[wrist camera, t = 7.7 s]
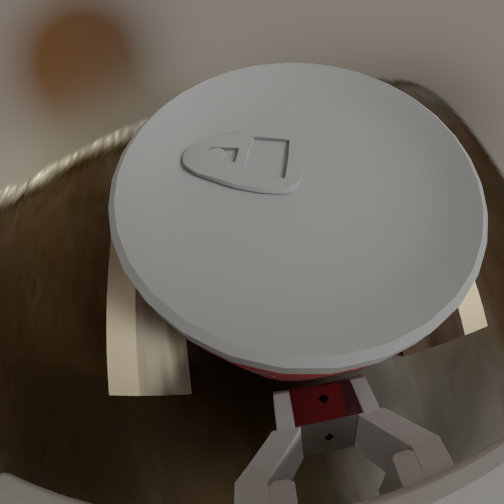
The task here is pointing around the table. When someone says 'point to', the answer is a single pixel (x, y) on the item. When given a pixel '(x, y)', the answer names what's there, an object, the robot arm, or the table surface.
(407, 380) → the table surface
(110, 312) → the dock
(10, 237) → the table surface
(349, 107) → the canned food
